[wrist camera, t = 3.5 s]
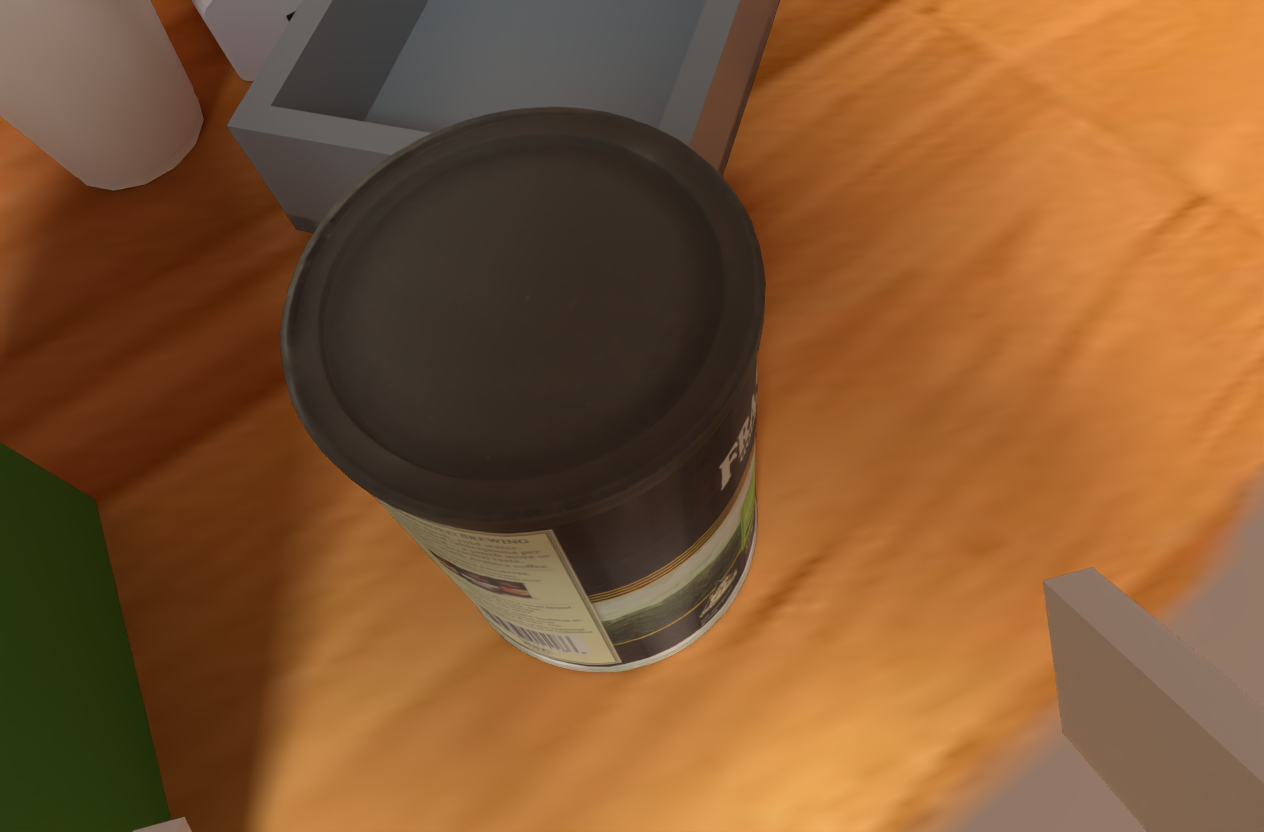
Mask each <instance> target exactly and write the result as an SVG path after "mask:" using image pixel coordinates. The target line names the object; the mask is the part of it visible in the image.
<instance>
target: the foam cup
mask: <svg viewBox="0 0 1264 832" xmlns="http://www.w3.org/2000/svg"><path fill="white" fill-rule="evenodd" d="M0 116H1V117H2V118H3V119H4V120H6V121H7V122H8V123H9V124H11V125H12V126H13V127H14V128H15V129H17V130H18V131H19V132H20V133H22V134H23V135H24V136H25V137H27V138H28V139H29V140H30V141H32V142H33V143H34V144H35V145H37V146H38V147H39V148H40V149H41V150H43V151H44V152H45V153H46V154H48V155H49V156H50V157H51V158H53V159H54V160H55V161H56V162H58V163H59V164H60V165H61V166H63V167H64V168H65V169H66V170H68V171H69V172H70V173H71V174H72V175H74V176H75V177H76V178H79V179H80V180H81V181H82V182H83V183H84V184H86V185H87V186H92V187H97V188H102V189H108V190H113V191H115V190H120V189H125V188H130V187H135V186H140V185H144V184H147V183H149V182H151V181H152V180H154V179H156V178H158V177H159V176H161V175H163V174H165V173H166V172H168V171H170V170H172V169H174V168H175V167H176V166H177V165H178V164H179V163H180V162H181V161H182V159H183V158H184V157H185V156H186V155H187V154H188V153H189V152H190V150H191V149H192V148H193V147H194V146H195V145H196V143H197V140H198V136H199V133H200V130H201V127H202V124H203V121H204V118H203V115H202V111H201V107H200V103H199V100H198V98H197V96H196V95H195V93H194V89H193V86H192V84H191V82H190V80H189V78H188V76H187V74H186V72H185V70H184V68H183V66H182V64H181V62H180V60H179V58H178V56H177V54H176V52H175V50H174V47H173V45H172V43H171V41H170V39H169V37H168V35H167V33H166V31H165V29H164V27H163V25H162V23H161V21H160V19H159V17H158V15H157V13H156V11H155V9H154V7H153V5H152V3H151V1H150V0H0Z"/></svg>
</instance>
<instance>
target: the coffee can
mask: <svg viewBox="0 0 1264 832" xmlns="http://www.w3.org/2000/svg"><path fill="white" fill-rule="evenodd" d="M765 285H766V283H765V275H764V266H763V261H762V256H761V251H760V246H759V243H758V240H757V237H756V234H755V231H754V228H753V224H752V221H751V219H750V218H749V216H748V214H747V212H746V210H745V208H744V206H743V205H742V203H741V202H740V200H739V198H738V197H737V195H736V194H735V192H734V191H733V189H732V188H731V187H730V185H729V184H728V183H727V181H726V180H725V179H724V178H723V177H722V176H721V175H720V173H719V172H718V171H717V170H716V169H715V168H714V167H713V166H712V165H711V164H710V163H708V162H707V161H706V160H705V159H703V158H702V157H701V156H700V155H698V154H697V153H696V152H695V151H693V150H692V149H691V148H690V147H688V146H687V145H685V144H684V143H683V142H681V141H680V140H678V139H677V138H675V137H673V136H671V135H669V134H667V133H665V132H663V131H661V130H659V129H656V128H654V127H652V126H650V125H647V124H645V123H641V122H638V121H635V120H633V119H631V118H627V117H624V116H620V115H617V114H613V113H609V112H605V111H598V110H592V109H585V108H574V107H556V106H555V107H534V108H520V109H512V110H506V111H502V112H496V113H490V114H486V115H482V116H479V117H475V118H472V119H468V120H464V121H461V122H459V123H456V124H453V125H450V126H448V127H445V128H442V129H440V130H437V131H435V132H433V133H431V134H429V135H426V136H424V137H422V138H420V139H418V140H416V141H415V142H413V143H411V144H409V145H407V146H406V147H404V148H402V149H401V150H399V151H397V152H396V153H394V154H392V155H391V156H389V157H388V158H386V159H385V160H384V161H382V162H381V163H380V164H378V165H377V166H376V167H375V168H373V169H372V170H371V171H369V172H368V173H367V174H366V175H364V176H363V177H362V178H361V179H360V180H359V181H358V182H356V183H355V184H354V185H353V186H352V187H351V188H350V189H349V190H348V191H347V192H346V193H345V194H344V195H343V196H342V197H341V198H340V199H339V201H338V202H337V203H336V204H335V205H334V206H333V208H332V209H331V210H330V211H329V213H328V214H327V215H326V216H325V218H324V219H323V220H322V222H321V223H320V225H319V226H318V228H317V229H316V231H315V232H314V234H313V235H312V237H311V238H310V240H309V242H308V243H307V245H306V247H305V249H304V251H303V253H302V255H301V257H300V259H299V261H298V263H297V265H296V268H295V270H294V273H293V277H292V280H291V282H290V284H289V288H288V291H287V297H286V300H285V304H284V308H283V315H282V323H281V333H280V341H281V358H282V364H283V370H284V375H285V380H286V385H287V389H288V391H289V394H290V397H291V400H292V403H293V405H294V407H295V410H296V412H297V414H298V417H299V419H300V420H301V422H302V424H303V425H304V427H305V429H306V430H307V432H308V434H309V435H310V436H311V437H312V439H313V440H314V441H315V443H316V444H317V445H318V447H319V448H320V449H321V451H322V452H323V453H324V454H325V455H326V456H327V457H328V458H329V459H330V460H331V461H332V462H333V463H334V464H335V465H336V466H337V467H338V468H339V469H340V470H341V471H342V472H343V473H345V474H346V475H347V476H348V477H349V478H350V479H351V480H352V481H354V482H355V483H356V484H358V485H359V486H360V487H362V488H363V489H365V490H366V491H367V492H369V493H370V494H372V495H373V496H374V497H375V498H376V500H377V501H378V502H379V503H380V504H381V505H382V506H383V507H384V508H385V509H386V510H387V511H388V512H389V513H390V514H391V515H392V516H393V517H394V518H395V519H396V521H397V522H398V523H399V524H400V525H401V526H402V527H403V528H404V529H405V530H406V532H407V533H408V534H409V535H410V536H411V537H412V538H413V539H414V540H415V541H416V542H417V543H418V544H419V545H420V547H421V548H422V549H423V550H424V551H425V552H426V553H427V554H428V555H429V557H430V558H431V559H432V560H433V561H434V562H435V563H436V564H437V565H438V566H439V567H440V568H441V569H442V570H443V571H444V572H445V573H446V574H447V575H448V576H449V577H450V578H451V580H452V581H453V582H454V583H455V584H456V585H457V586H458V587H459V588H460V589H461V590H462V591H463V592H464V593H465V594H466V595H467V596H468V597H469V599H470V600H471V601H472V602H473V603H474V604H475V605H476V606H477V608H478V609H479V611H480V612H481V613H482V615H483V616H484V617H485V619H486V620H487V621H488V623H489V624H490V625H491V626H492V627H493V628H494V629H495V630H496V631H497V632H498V633H499V634H500V635H501V636H502V637H503V638H504V639H505V640H506V641H508V642H510V643H511V644H512V645H514V646H515V647H517V648H518V649H520V650H521V651H523V652H525V653H527V654H528V655H530V656H532V657H534V658H537V659H539V660H541V661H543V662H546V663H549V664H552V665H555V666H558V667H562V668H567V669H571V670H576V671H585V672H622V671H627V670H631V669H635V668H638V667H642V666H646V665H650V664H653V663H655V662H658V661H660V660H662V659H665V658H667V657H670V656H671V655H673V654H675V653H677V652H679V651H681V650H682V649H684V648H686V647H687V646H689V645H690V644H691V643H693V642H694V641H696V640H697V639H698V638H700V637H701V636H702V635H703V634H705V633H706V632H707V631H708V630H709V629H710V628H711V627H712V626H713V625H714V624H715V623H716V622H717V621H718V620H719V619H720V618H721V617H722V616H723V615H724V614H725V612H726V611H727V610H728V608H729V607H730V605H731V604H732V603H733V601H734V600H735V598H736V596H737V594H738V592H739V591H740V589H741V587H742V585H743V583H744V581H745V579H746V576H747V573H748V571H749V568H750V565H751V562H752V558H753V554H754V549H755V544H756V536H757V502H756V498H755V459H756V416H757V387H758V386H757V367H758V357H757V354H758V350H759V345H760V339H761V333H762V327H763V320H764V304H765Z"/></svg>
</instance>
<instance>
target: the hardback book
mask: <svg viewBox="0 0 1264 832" xmlns="http://www.w3.org/2000/svg"><path fill="white" fill-rule="evenodd" d="M167 821H171V818H170V814H169V809H168V805H167V801H166V797H165V793H164V788H163V784H162V780H161V776H160V771H159V767H158V763H157V759H156V755H155V750H154V746H153V742H152V738H151V733H150V729H149V725H148V721H147V716H146V712H145V708H144V704H143V700H142V695H141V691H140V687H139V683H138V678H137V674H136V670H135V666H134V661H133V657H132V653H131V649H130V645H129V640H128V636H127V632H126V628H125V623H124V619H123V615H122V611H121V606H120V602H119V598H118V594H117V590H116V585H115V581H114V577H113V573H112V568H111V564H110V560H109V556H108V552H107V547H106V543H105V539H104V535H103V530H102V526H101V522H100V518H99V513H98V509H97V505H96V501H95V500H94V499H93V498H91V497H89V496H88V495H86V494H84V493H83V492H81V491H80V490H78V489H76V488H75V487H73V486H71V485H70V484H68V483H66V482H65V481H63V480H61V479H60V478H58V477H56V476H55V475H53V474H51V473H50V472H48V471H46V470H45V469H43V468H42V467H40V466H38V465H37V464H35V463H33V462H32V461H30V460H28V459H27V458H25V457H23V456H22V455H20V454H18V453H17V452H15V451H13V450H12V449H10V448H8V447H7V446H5V445H4V444H2V443H0V832H133V831H134V830H138V829H142V828H145V827H149V826H152V825H156V824H160V823H163V822H167Z"/></svg>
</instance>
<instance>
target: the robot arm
mask: <svg viewBox="0 0 1264 832" xmlns="http://www.w3.org/2000/svg"><path fill="white" fill-rule="evenodd" d="M1043 585H1044V593H1045V600H1046V608H1047V616H1048V624H1049V631H1050V639H1051V647H1052V655H1053V662H1054V670H1055V678H1056V685H1057V693H1058V701H1059V709H1060V716H1061V724H1062V732H1063V734H1064V735H1065V736H1066V737H1067V738H1068V739H1069V740H1070V742H1071V743H1072V744H1073V745H1074V746H1075V748H1076V749H1077V750H1078V751H1079V752H1080V753H1081V755H1082V756H1083V757H1084V758H1085V759H1086V761H1087V762H1088V763H1089V764H1090V765H1091V766H1092V767H1093V769H1094V770H1095V771H1096V772H1097V773H1098V775H1099V776H1100V777H1101V778H1102V779H1103V780H1104V781H1105V783H1106V784H1107V785H1108V786H1109V787H1110V788H1111V790H1112V791H1113V792H1114V793H1115V794H1116V796H1117V797H1118V798H1119V799H1120V800H1121V802H1123V804H1124V805H1125V806H1126V807H1127V809H1128V810H1129V811H1130V812H1131V813H1132V814H1133V816H1134V817H1135V818H1136V819H1137V820H1138V821H1139V823H1140V824H1141V825H1142V826H1143V827H1144V828H1145V829H1146V831H1147V832H1264V706H1263V705H1261V704H1260V703H1259V702H1258V701H1257V700H1255V699H1254V698H1253V697H1251V696H1250V695H1249V694H1248V693H1247V692H1245V691H1244V690H1243V689H1242V688H1241V687H1239V686H1238V685H1237V684H1236V683H1234V682H1233V681H1232V680H1231V679H1229V678H1228V677H1227V676H1226V675H1224V674H1223V673H1222V672H1221V671H1219V670H1218V669H1217V668H1216V667H1215V666H1213V665H1212V664H1211V663H1210V662H1208V661H1207V660H1206V659H1205V658H1204V657H1202V656H1201V655H1199V653H1197V652H1196V651H1195V650H1194V649H1192V648H1191V647H1190V646H1189V645H1188V644H1186V643H1185V642H1184V641H1183V640H1181V639H1180V638H1179V637H1178V636H1176V635H1175V634H1174V633H1173V632H1171V631H1170V630H1169V629H1168V628H1167V627H1165V626H1164V625H1163V624H1162V623H1160V622H1159V621H1158V620H1157V619H1155V618H1154V617H1153V616H1152V615H1151V614H1149V613H1148V612H1147V611H1146V610H1144V609H1143V608H1142V607H1141V606H1139V605H1138V604H1137V603H1136V602H1135V601H1133V600H1132V599H1131V598H1130V597H1128V596H1127V595H1126V594H1125V593H1123V592H1122V591H1121V590H1120V589H1119V588H1117V587H1116V586H1115V585H1114V584H1112V583H1111V582H1110V581H1109V580H1107V579H1106V578H1105V577H1104V576H1102V575H1101V574H1100V573H1099V572H1098V571H1096V570H1095V569H1094V568H1093V567H1091V568H1088V569H1084V570H1081V571H1077V572H1073V573H1070V574H1066V575H1062V576H1059V577H1055V578H1051V579H1048V580H1044V581H1043ZM133 832H192V831H191V829H190V827H189V825H188V823H187V821H186V819H185V817H182V818H178V819H174V820H171V821H167V822H163V823H160V824H156V825H152V826H149V827H145V828H142V829H138V830H134V831H133Z"/></svg>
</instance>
